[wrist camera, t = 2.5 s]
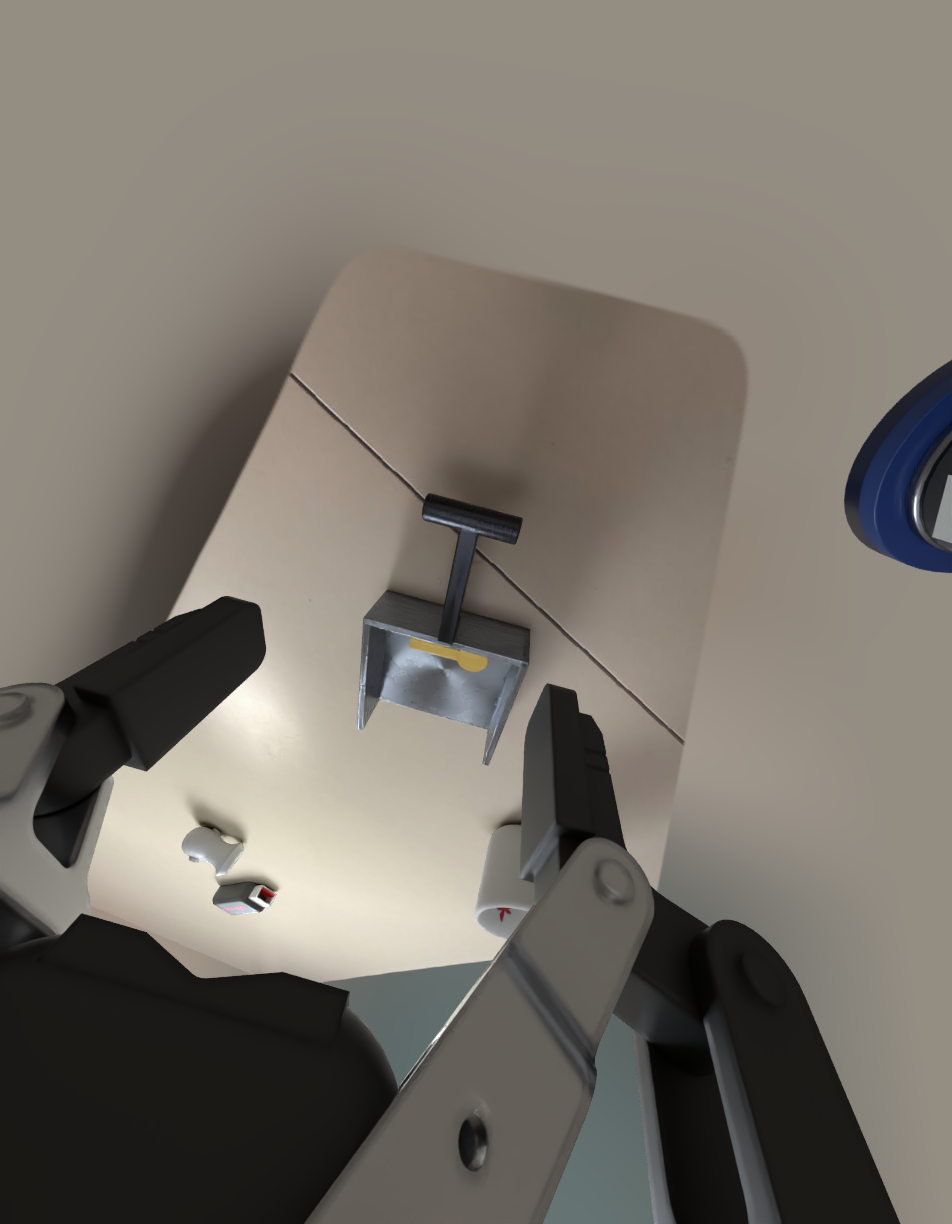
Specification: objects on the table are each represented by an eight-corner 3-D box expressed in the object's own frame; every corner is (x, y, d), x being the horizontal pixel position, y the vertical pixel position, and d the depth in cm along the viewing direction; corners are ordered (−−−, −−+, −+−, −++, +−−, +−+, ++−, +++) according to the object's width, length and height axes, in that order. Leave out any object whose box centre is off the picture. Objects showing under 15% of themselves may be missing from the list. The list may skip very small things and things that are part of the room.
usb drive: (219, 886, 63) (207, 905, 60) (259, 880, 58) (247, 899, 56) (241, 900, 65) (230, 918, 62) (281, 894, 60) (271, 914, 58)
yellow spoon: (491, 648, 26) (491, 652, 26) (484, 672, 27) (483, 675, 27) (413, 627, 26) (411, 630, 26) (409, 651, 27) (407, 654, 27)
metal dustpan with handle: (573, 513, 21) (582, 538, 17) (493, 726, 31) (487, 773, 27) (398, 466, 21) (365, 480, 17) (376, 694, 31) (352, 736, 27)
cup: (591, 844, 38) (603, 939, 31) (552, 870, 42) (555, 959, 35) (504, 806, 37) (497, 896, 30) (473, 837, 41) (460, 922, 34)
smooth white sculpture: (200, 818, 52) (200, 819, 49) (246, 844, 54) (250, 847, 51) (172, 850, 50) (171, 853, 46) (222, 876, 51) (225, 881, 48)
